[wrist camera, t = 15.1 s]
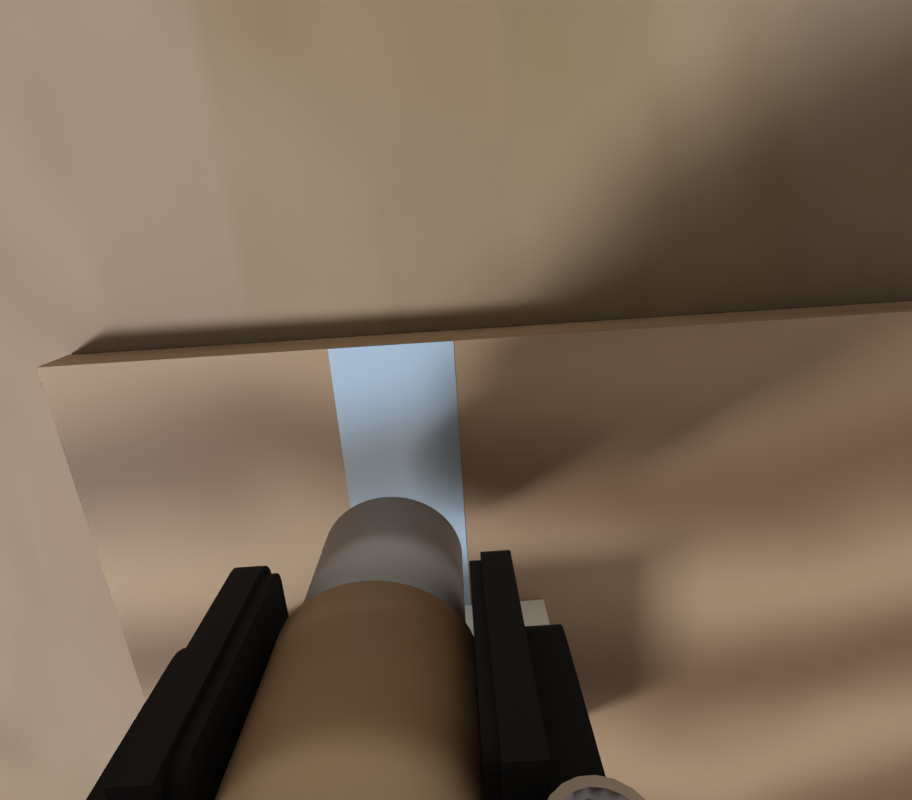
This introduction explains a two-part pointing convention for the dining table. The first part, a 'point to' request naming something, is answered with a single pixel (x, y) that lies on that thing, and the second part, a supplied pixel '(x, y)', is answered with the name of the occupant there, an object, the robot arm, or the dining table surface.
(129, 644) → the floor panel
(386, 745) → the awl
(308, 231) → the dining table surface
